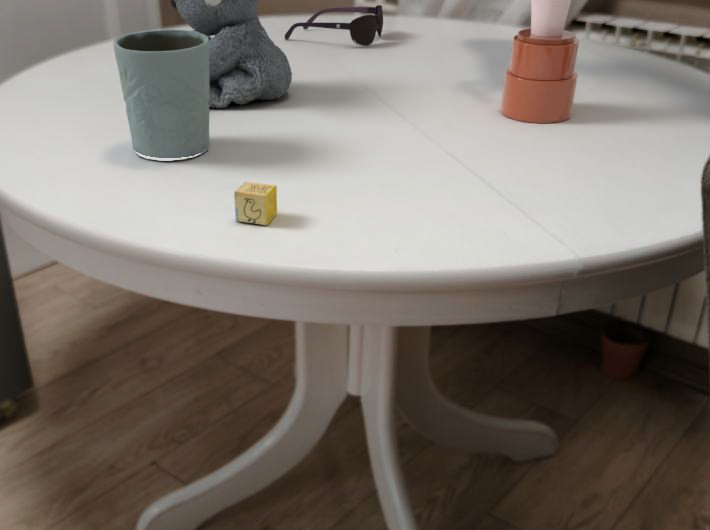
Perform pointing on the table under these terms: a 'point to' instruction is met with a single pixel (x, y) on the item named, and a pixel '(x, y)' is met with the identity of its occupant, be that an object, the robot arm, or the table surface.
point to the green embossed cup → (165, 90)
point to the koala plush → (237, 51)
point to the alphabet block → (255, 203)
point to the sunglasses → (351, 24)
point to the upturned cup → (540, 78)
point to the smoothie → (548, 17)
